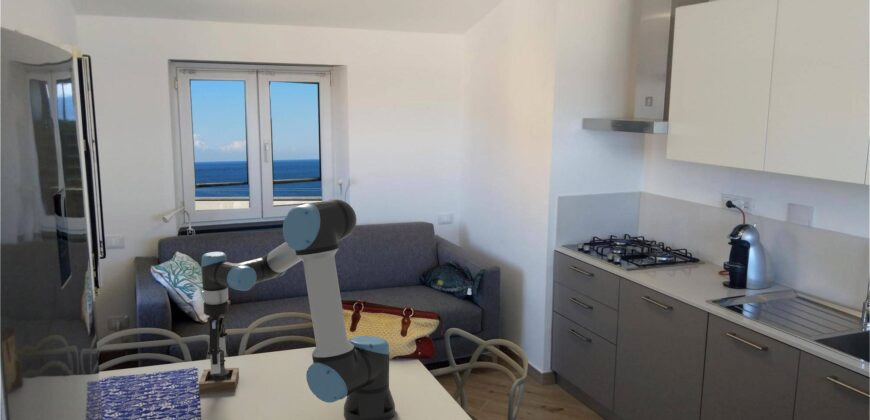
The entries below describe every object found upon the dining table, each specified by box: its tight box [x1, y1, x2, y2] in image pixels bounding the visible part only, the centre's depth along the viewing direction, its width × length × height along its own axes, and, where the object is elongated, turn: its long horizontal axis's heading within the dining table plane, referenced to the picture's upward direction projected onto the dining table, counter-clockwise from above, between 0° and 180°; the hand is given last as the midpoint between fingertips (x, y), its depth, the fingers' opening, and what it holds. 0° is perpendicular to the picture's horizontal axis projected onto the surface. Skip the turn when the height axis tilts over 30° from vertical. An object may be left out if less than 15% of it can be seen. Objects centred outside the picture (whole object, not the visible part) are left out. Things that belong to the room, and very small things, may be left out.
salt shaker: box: [210, 347, 229, 381], centre depth 212 cm, size 6×6×12 cm
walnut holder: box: [198, 367, 240, 395], centre depth 213 cm, size 11×11×3 cm
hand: (218, 364), depth 212 cm, fingers open, 13 cm apart
